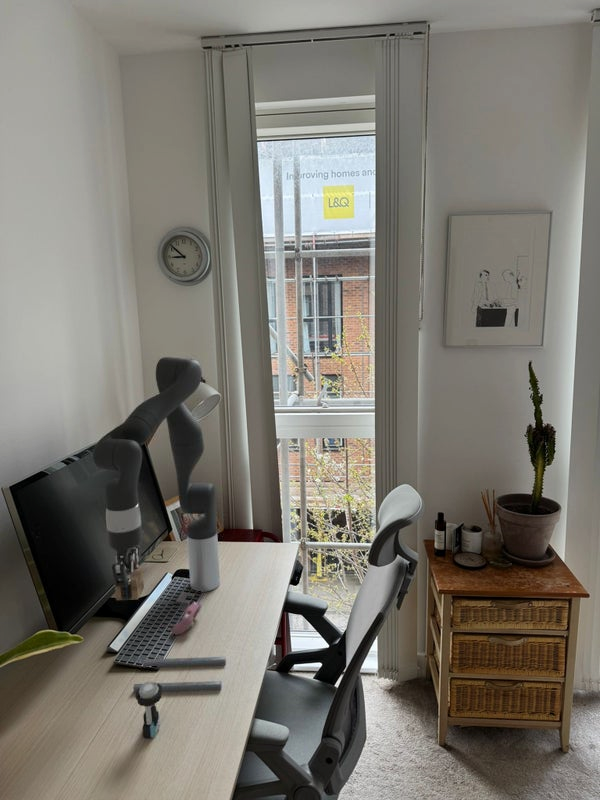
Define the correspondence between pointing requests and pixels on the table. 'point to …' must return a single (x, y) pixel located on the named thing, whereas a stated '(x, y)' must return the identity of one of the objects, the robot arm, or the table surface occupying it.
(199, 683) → the rail channel
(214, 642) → the table surface
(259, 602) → the table surface
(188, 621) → the pink irregular rounded piece
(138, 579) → the walnut block
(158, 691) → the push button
